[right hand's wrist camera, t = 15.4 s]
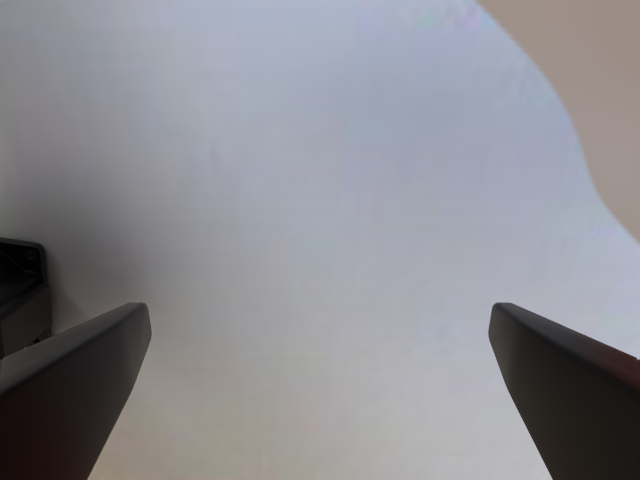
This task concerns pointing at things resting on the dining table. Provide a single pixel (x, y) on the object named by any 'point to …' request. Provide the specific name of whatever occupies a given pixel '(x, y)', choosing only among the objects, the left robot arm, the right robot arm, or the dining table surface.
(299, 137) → the dining table surface
